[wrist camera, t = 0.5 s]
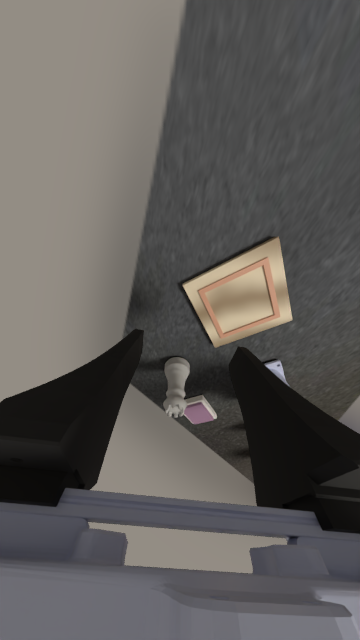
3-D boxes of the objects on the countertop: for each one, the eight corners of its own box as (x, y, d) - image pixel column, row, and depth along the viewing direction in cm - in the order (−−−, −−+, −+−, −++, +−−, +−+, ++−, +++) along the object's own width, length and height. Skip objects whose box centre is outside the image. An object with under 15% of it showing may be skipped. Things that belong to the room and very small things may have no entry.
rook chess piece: (191, 356, 25) (194, 404, 18) (188, 374, 27) (189, 422, 20) (165, 354, 24) (157, 401, 18) (164, 372, 27) (157, 419, 20)
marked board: (288, 317, 20) (293, 320, 19) (214, 344, 23) (215, 348, 22) (274, 236, 15) (280, 236, 14) (182, 283, 18) (182, 286, 17)
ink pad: (216, 413, 33) (217, 420, 32) (192, 419, 35) (192, 426, 34) (202, 394, 30) (203, 401, 29) (176, 401, 31) (176, 408, 30)
